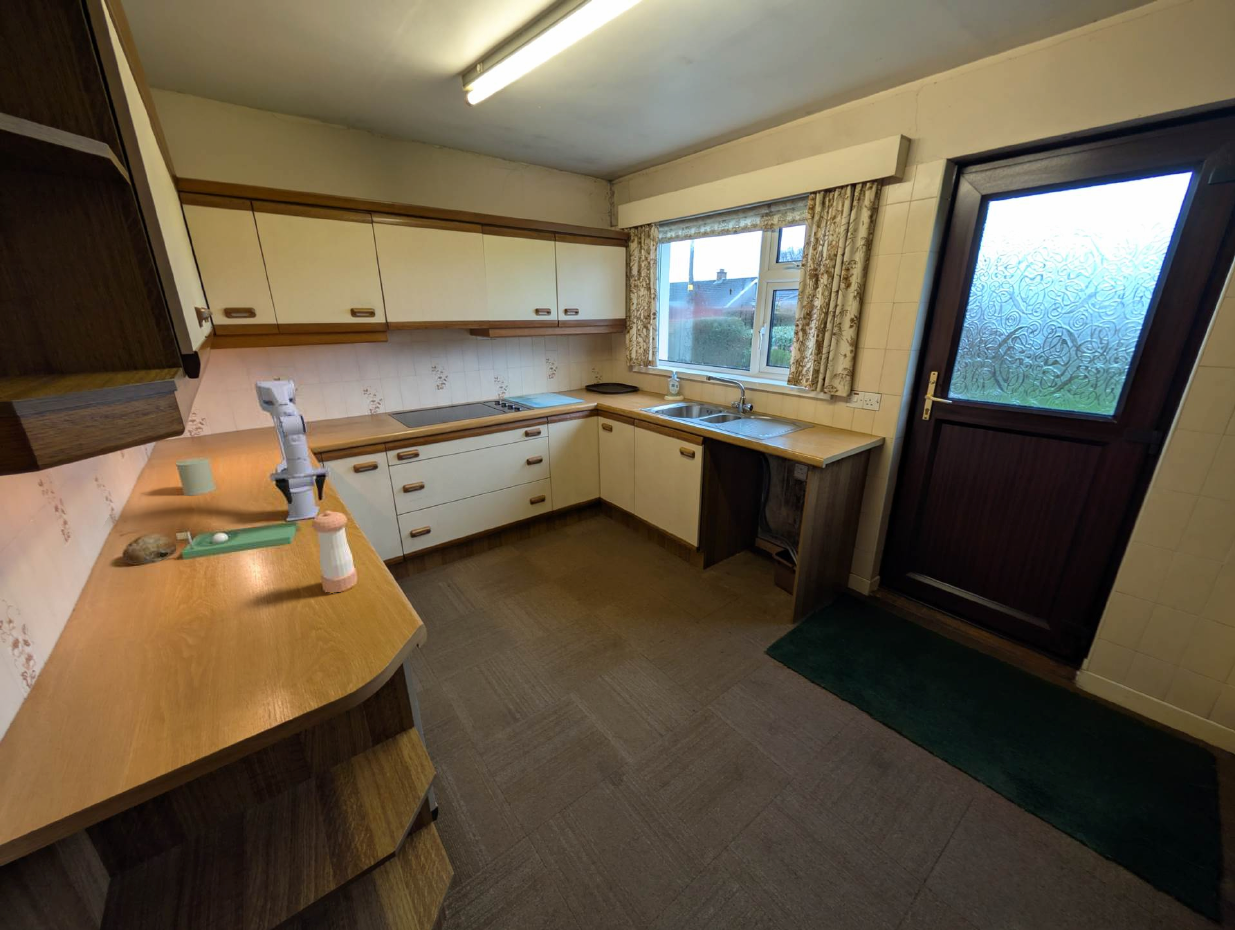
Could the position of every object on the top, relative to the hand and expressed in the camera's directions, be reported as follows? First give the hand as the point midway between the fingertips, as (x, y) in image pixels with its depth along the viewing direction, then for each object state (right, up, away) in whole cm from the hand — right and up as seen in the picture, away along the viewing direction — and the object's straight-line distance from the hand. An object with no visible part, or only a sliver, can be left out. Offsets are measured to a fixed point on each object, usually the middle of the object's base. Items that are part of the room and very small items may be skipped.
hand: (305, 501), depth 141 cm
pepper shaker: (+26, -18, -27) cm, 42 cm away
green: (-14, -11, -5) cm, 19 cm away
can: (-61, +1, +34) cm, 70 cm away
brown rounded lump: (-32, -14, -14) cm, 38 cm away
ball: (-18, -11, -7) cm, 22 cm away
